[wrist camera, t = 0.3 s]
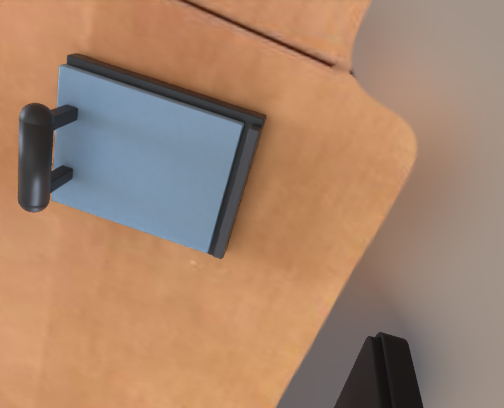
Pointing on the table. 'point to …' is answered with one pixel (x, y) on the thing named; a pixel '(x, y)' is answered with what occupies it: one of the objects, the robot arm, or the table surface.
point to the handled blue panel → (128, 157)
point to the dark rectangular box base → (248, 117)
